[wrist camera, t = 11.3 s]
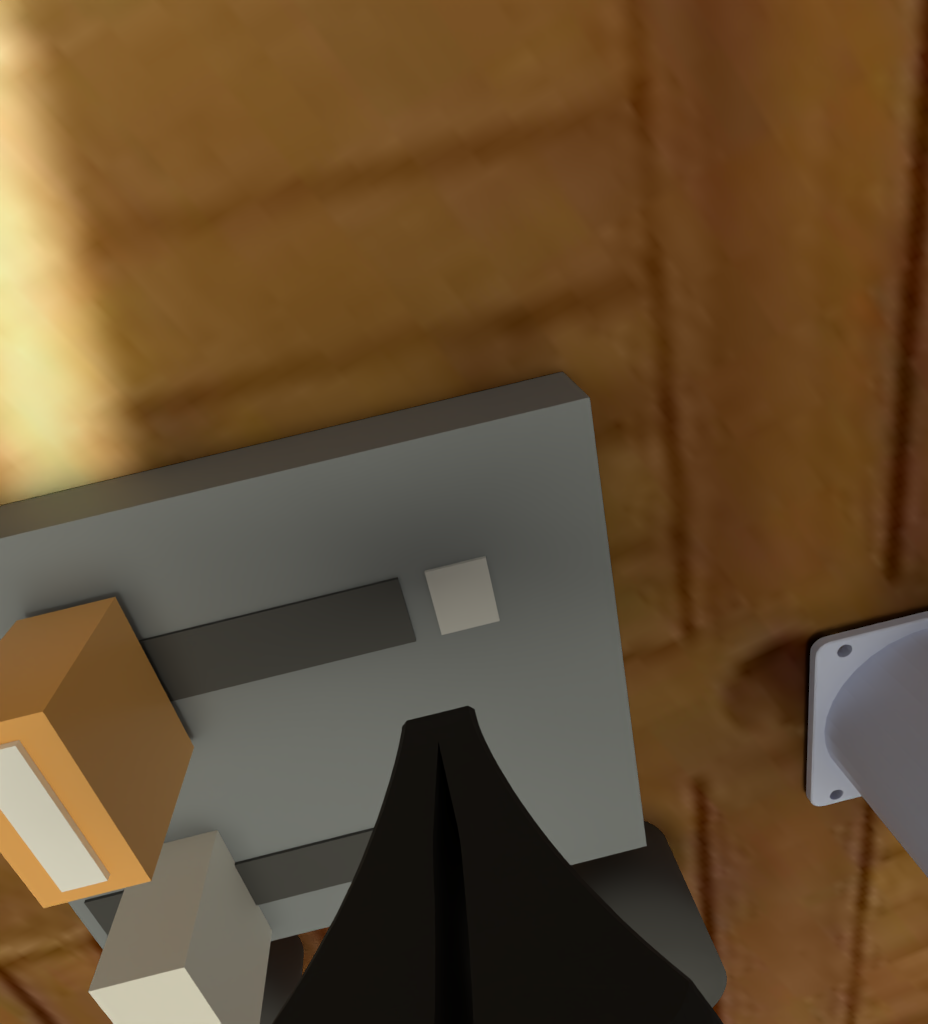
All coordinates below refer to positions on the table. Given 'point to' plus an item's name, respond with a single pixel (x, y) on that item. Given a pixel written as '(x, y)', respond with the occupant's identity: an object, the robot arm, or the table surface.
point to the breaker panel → (341, 660)
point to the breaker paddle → (84, 754)
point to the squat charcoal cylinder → (281, 975)
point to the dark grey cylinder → (659, 908)
